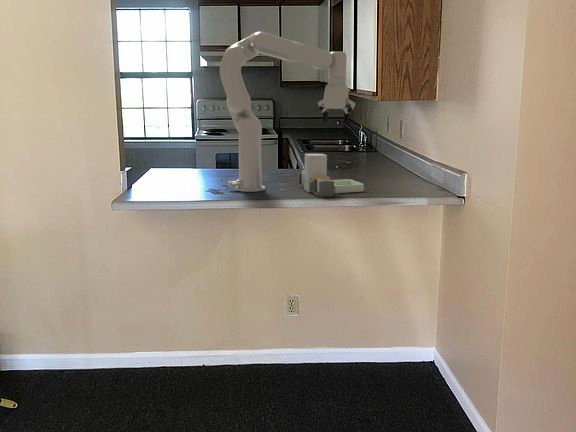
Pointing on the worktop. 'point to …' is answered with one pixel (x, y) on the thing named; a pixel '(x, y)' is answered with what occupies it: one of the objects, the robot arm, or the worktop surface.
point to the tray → (347, 186)
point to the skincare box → (314, 169)
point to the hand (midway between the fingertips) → (335, 122)
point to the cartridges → (318, 179)
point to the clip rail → (324, 187)
